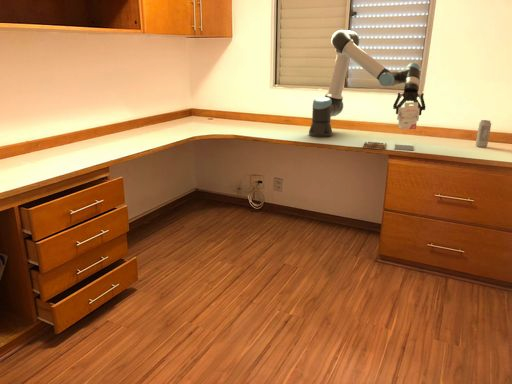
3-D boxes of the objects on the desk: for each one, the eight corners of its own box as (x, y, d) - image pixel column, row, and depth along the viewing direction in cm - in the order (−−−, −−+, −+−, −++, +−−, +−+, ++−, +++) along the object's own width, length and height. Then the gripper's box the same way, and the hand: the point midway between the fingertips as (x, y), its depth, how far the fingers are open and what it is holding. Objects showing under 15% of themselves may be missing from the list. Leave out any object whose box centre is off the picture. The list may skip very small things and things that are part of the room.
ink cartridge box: (411, 127, 241) (414, 101, 237) (416, 129, 237) (419, 102, 232) (397, 128, 240) (400, 101, 235) (402, 129, 235) (404, 102, 231)
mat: (394, 149, 238) (394, 148, 238) (395, 145, 249) (395, 144, 249) (413, 150, 235) (413, 150, 235) (413, 146, 246) (413, 145, 246)
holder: (362, 147, 242) (363, 143, 241) (365, 143, 254) (365, 139, 253) (385, 149, 238) (385, 144, 237) (386, 144, 250) (386, 140, 249)
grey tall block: (485, 145, 248) (490, 120, 243) (488, 148, 242) (492, 121, 238) (474, 145, 249) (478, 119, 245) (476, 147, 244) (481, 121, 239)
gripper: (431, 92, 243) (428, 124, 233) (390, 90, 250) (386, 121, 240) (433, 83, 236) (430, 115, 227) (391, 82, 243) (387, 113, 234)
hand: (407, 118), depth 234 cm, fingers closed on ink cartridge box, 9 cm apart
